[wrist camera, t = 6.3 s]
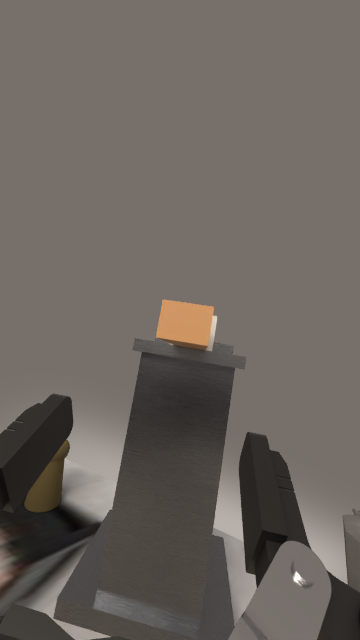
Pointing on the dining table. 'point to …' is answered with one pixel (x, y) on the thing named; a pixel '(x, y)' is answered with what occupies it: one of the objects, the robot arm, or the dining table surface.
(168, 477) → the dark gray pedestal stand
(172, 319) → the orange rectangular block
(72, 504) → the dining table surface
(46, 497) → the cork
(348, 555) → the coffeepot
